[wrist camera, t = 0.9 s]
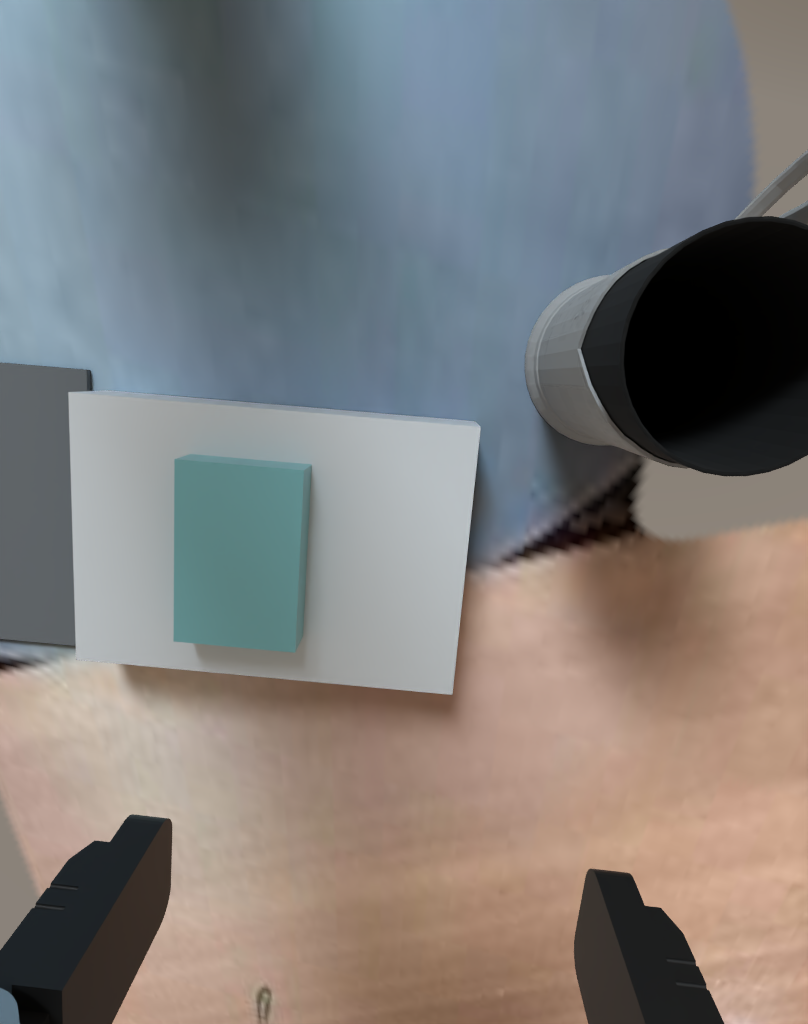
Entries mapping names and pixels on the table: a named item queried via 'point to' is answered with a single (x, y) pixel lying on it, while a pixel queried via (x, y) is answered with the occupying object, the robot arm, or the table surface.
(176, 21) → the table surface
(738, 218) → the glass holder
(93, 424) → the plate
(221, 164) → the table surface
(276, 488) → the teal rectangular box
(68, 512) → the mat
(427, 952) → the table surface
